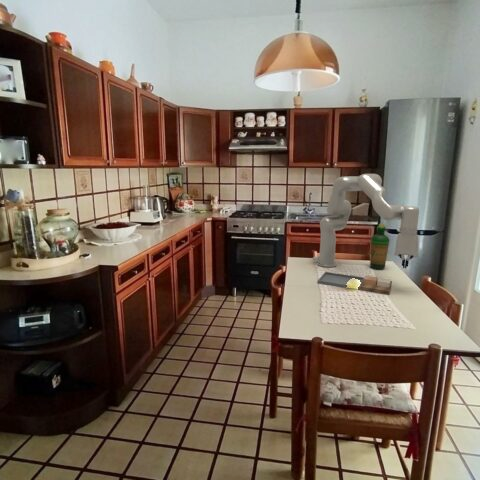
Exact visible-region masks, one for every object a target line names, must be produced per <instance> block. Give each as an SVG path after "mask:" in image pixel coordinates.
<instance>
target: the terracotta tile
mask: <svg viewBox="0 0 480 480" xmlns="http://www.w3.org/2000/svg"><path fill="white" fill-rule="evenodd" d="M364 277H365V278H364V284H370V285H376V283H377V279H378V277H376V276H370V275H365V276H364Z"/></svg>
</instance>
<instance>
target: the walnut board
mask: <svg viewBox="0 0 480 480" xmlns="http://www.w3.org/2000/svg"><path fill="white" fill-rule="evenodd" d="M363 277H364V278H365V276H363ZM377 280H378V278H377ZM392 282H393V281H392V280H391V281H390V287H383V286H377V283H376V285H370V284H364V279H363V282H362V284H361V286H360V290H359V291H362V292H367V293H374V294H380V295H387V296H389V295H390V293H391V288H392Z"/></svg>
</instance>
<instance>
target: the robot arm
mask: <svg viewBox="0 0 480 480" xmlns="http://www.w3.org/2000/svg"><path fill="white" fill-rule="evenodd" d="M382 184H383V179H382V177H381V176H380V175H379V174H377V173H363V174H361V175H358V176H353V175H351V176H350V175H349V176H347V175H346V176H340V177H337V178H336V179H335V180H334V181H333V185H332V189H331V194H330V196H329V200H328V204H327V207H326V212H327V214H328V215H326V216H323V217H322V218H321V219H320V221H319V228H320V242H319V256H313V257H312V260H313V261H316V265H317V266H320V267H323V268H334V267H336V266H337V262H336V261H335V259H336V257H335V256H336V246H337V245H336V242H337V236H336V233H335V231H342V230H343V229H345V228H346V226H347V224H348V221H349V219H350V215H351V212H352V204H351V202H350V201H349V200H348V199H346V195H347V194H346V192H363V193H364V194H366V196H367V197H368V198H369V199H370V200H371V204H372V208H373V210H374V211H375V212H376V213H377V215H378V216H379V217H380V218H382V219H383V220H386V221H398V220H400V227H399V228H396V232H398V233H397V237H396V242H395V248H394V256H396V257H399V258H400V259H401V266H402V268H403V269H407V267H409V264H410V263H409V261H411V259H413V258H415V259H416V258H418V257H419V255H418V254H419V243H420V239H419V235H418V226H419V217H420V215H419V214H420V208H419V207H417V206H407V205H404V204H391V205H390V204H388V202H386V200H384V196H386V195H385V194H386V189H385V187H383V186H382ZM405 256H407V257H405Z"/></svg>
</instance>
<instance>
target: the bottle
mask: <svg viewBox="0 0 480 480" xmlns="http://www.w3.org/2000/svg"><path fill="white" fill-rule="evenodd" d="M375 230H376V234H374V235H372V236H371V238H370V253H369V254H370V258H369V259H370V260H369V267H370V268H371V269H372V268H373V269H372V270H377V271H382V270H384V269H385V268H386V263H387V262H386V261H387V256H388V252H389V246H390V238H389V237H388V236H387V234H385V232H386V231H387V228H386V225H385V223H378V225H377V227H376V229H375Z"/></svg>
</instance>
